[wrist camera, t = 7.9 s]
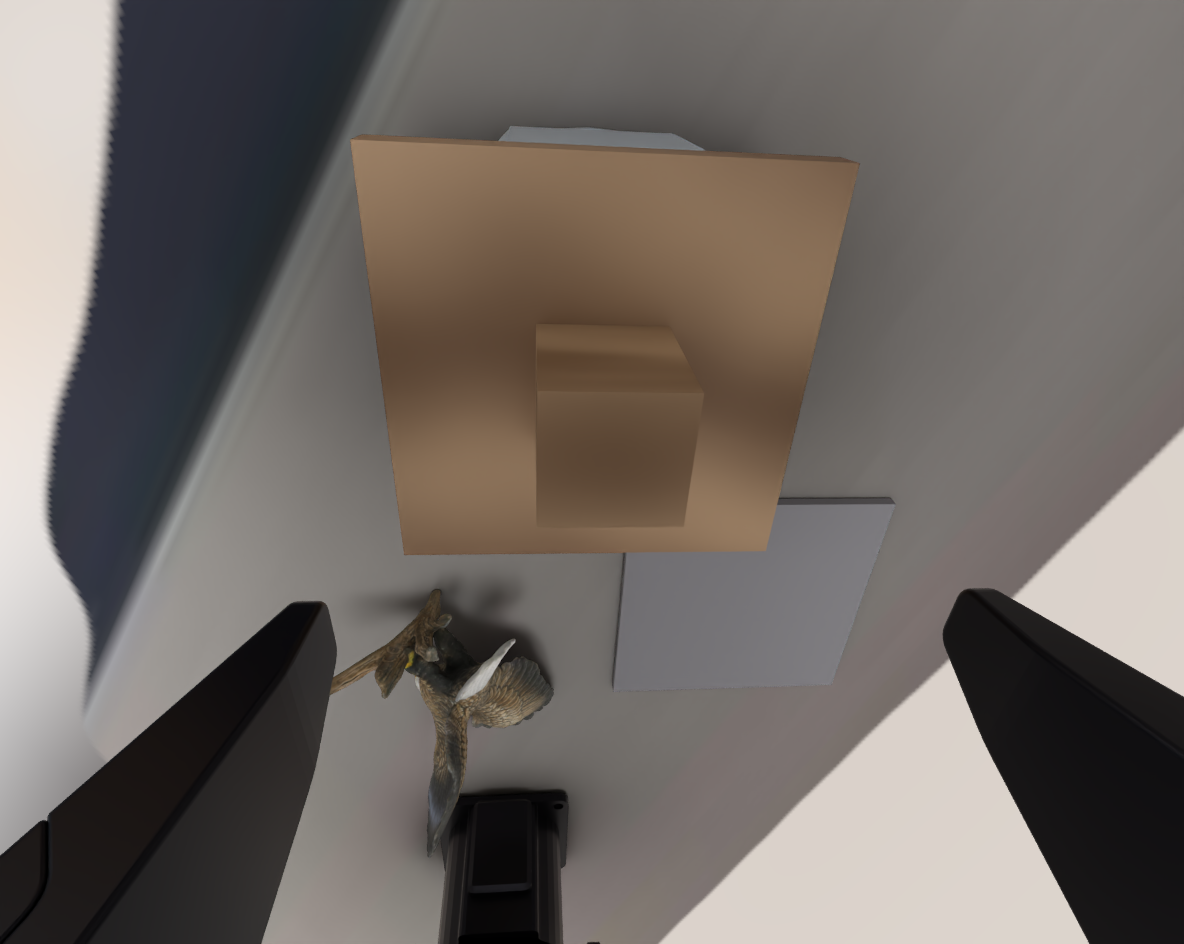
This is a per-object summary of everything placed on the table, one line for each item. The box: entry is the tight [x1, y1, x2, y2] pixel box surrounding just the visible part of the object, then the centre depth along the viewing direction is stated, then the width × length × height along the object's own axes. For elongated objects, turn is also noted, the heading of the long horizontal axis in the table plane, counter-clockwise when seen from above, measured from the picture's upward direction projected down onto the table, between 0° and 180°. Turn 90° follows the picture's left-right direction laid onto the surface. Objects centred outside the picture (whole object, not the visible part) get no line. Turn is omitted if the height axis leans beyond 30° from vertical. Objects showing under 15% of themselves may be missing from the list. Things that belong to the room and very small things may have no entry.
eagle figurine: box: [330, 590, 554, 858], centre depth 25 cm, size 8×7×9 cm
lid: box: [350, 135, 860, 555], centre depth 14 cm, size 10×10×4 cm
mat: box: [612, 498, 896, 692], centre depth 27 cm, size 10×10×1 cm
